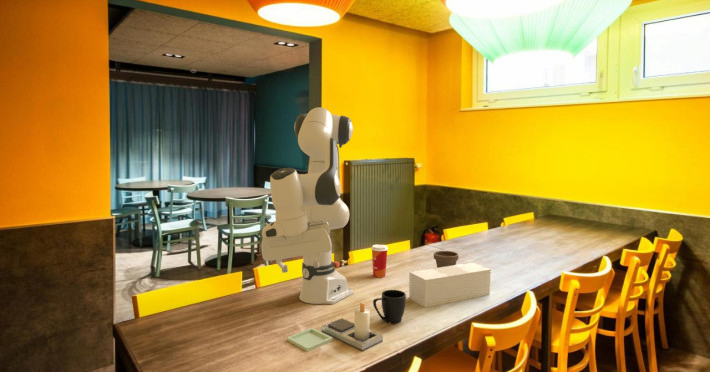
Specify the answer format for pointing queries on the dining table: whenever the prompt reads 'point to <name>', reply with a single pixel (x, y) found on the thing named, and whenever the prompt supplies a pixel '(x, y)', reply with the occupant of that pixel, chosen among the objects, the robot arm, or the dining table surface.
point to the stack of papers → (449, 284)
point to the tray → (309, 339)
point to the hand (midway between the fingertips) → (301, 269)
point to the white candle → (361, 323)
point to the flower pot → (445, 258)
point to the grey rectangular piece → (350, 334)
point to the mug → (392, 306)
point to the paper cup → (379, 260)
